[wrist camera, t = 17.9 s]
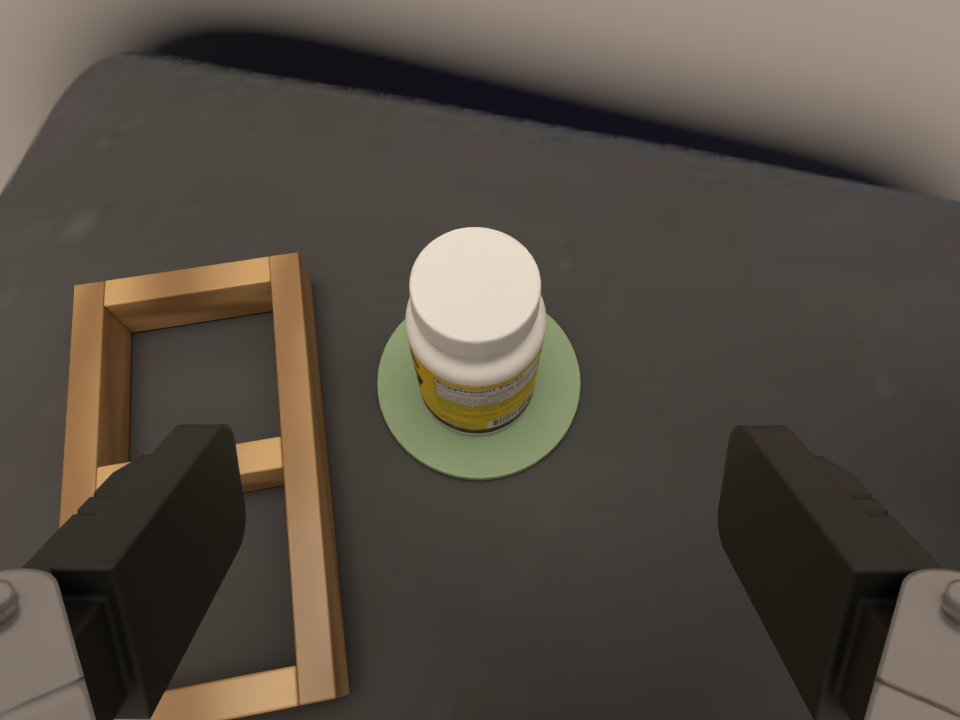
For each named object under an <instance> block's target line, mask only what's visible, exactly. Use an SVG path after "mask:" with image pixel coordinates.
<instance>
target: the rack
mask: <svg viewBox="0 0 960 720" xmlns="http://www.w3.org/2000/svg"><path fill="white" fill-rule="evenodd" d="M270 311H273V320H274V335H275V350H276V365H277V380H278V395H279V411H280V426H281V437H275V438H269V439H263V440H257V441H251V442H245V443H239V444H236V450H237V457H238V463H239V470H240V477H241V483H242V490H243V492H249V491H255V490H260V489H266V488H272V487H278V486H285V501H286V516H287V531H288V546H289V562H290V577H291V592H292V607H293V622H294V637H295V652H296V666H289V667H284V668H279V669H274V670H269V671H263V672H258V673H253V674H248V675H243V676H237V677H232V678H227V679H222V680H216V681H211V682H206V683H201V684H196V685H190V686H185V687H180V688H175V689H170V690H165V692H164V694H163V696H162V698H161V700H160V702H159V704H158V706H157V708H156V710H155V711H154V713H153V715H152V717H151V719H114V720H231V719H236V718H241V717H246V716H251V715H256V714H261V713H266V712H271V711H276V710H281V709H287V708H292V707H297V706H300V705H301V706H302V705H307V704H312V703H317V702H322V701H327V700H333V699H337V698H340V697H343V696H346V695H349V693H350V691H349V681H348V670H347V659H346V648H345V638H344V627H343V616H342V605H341V595H340V584H339V573H338V562H337V552H336V541H335V530H334V519H333V509H332V498H331V487H330V476H329V466H328V455H327V444H326V433H325V423H324V412H323V401H322V390H321V380H320V369H319V358H318V347H317V337H316V326H315V315H314V304H313V294H312V283H311V280H310V278H309V276H308V274H307V271H306V269H305V267H304V265H303V262H302V260H301V258H300V256H299V254H298V253H297V252H296V253H290V254H283V255H276V256H270V258H269V257H263V258H257V259H250V260H243V261H236V262H230V263H223V264H216V265H209V266H203V267H196V268H189V269H183V270H176V271H169V272H162V273H156V274H149V275H142V276H135V277H129V278H122V279H115V280H109V281H105V282H104V281H102V282H95V283H88V284H81V285H76V286H75V288H74V303H73V319H72V335H71V351H70V366H69V382H68V398H67V414H66V429H65V445H64V461H63V477H62V492H61V508H60V524H59V529H60V528H61V526H62V525H63V524H64V523H65V522H66V521H67V520H68V519H69V518H70V517H71V516H72V515H73V514H77V510H78V509H79V508H80V507H81V505H82V504H83V503H84V502H85V501H86V500H87V499H88V498H89V497H93V496H94V492H95V491H96V490H97V489H98V488H99V487H100V486H101V484H102V483H103V482H104V481H105V480H106V479H107V478H108V477H109V476H110V475H111V474H112V473H113V472H115V471H116V470H118V469H120V468H121V467H123V466H125V465H127V464H128V463H130V462H128V460H129V420H130V380H131V340H132V332H140V331H147V330H153V329H160V328H166V327H172V326H179V325H185V324H192V323H198V322H205V321H211V320H218V319H224V318H231V317H237V316H244V315H250V314H257V313H263V312H270Z"/></svg>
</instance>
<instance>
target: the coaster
mask: <svg viewBox="0 0 960 720" xmlns="http://www.w3.org/2000/svg"><path fill="white" fill-rule="evenodd" d="M580 387H581V386H580V371H579V366H578V361H577V358H576V355H575V352H574V350H573V348H572V345H571V343H570V341H569V339H568V338H567V336H566V335H565V333H564V332H563V330H562V329H561V328H560V327H559V325H558V324H557V323H556V322H555V321H554V320H553V319H552V318H551V317H550V316H549V315H548V314H547V313H546V330H545V338H544V343H543V348H542V352H541V356H540V361H539V366H538V371H537V376H536V381H535V387H534V392H533V395H532V398H531V401H530V403H529V405H528V407H527V408H526V410H525V411H524V413H523V414H522V415H521V416H520V417H519V418H518V419H517V420H516V421H515V422H514V423H513V424H511V425H510V426H508V427H507V428H505V429H503V430H500V431H498V432H495V433H491V434H486V435H467V434H462V433H459V432H456V431H453V430H451V429H449V428H447V427H446V426H444V425H443V424H441V423H440V422H439V421H438V420H436V419H435V418H434V417H433V416H432V414H431V413H430V412H429V410H428V409H427V407H426V405H425V404H424V401H423V399H422V396H421V392H420V388H419V384H418V380H417V376H416V372H415V367H414V363H413V359H412V355H411V351H410V346H409V342H408V338H407V333H406V319H405V320H404V321H403V322H402V323H401V324H400V325H399V326H398V327H397V329H396V330H395V331H394V333H393V334H392V336H391V337H390V339H389V341H388V343H387V345H386V346H385V349H384V352H383V354H382V357H381V360H380V365H379V369H378V379H377V389H378V398H379V403H380V408H381V411H382V414H383V416H384V419H385V422H386V424H387V426H388V428H389V429H390V431H391V433H392V435H393V436H394V437H395V439H396V440H397V442H398V443H399V444H400V445H401V446H402V447H403V449H404V450H405V451H406V452H407V453H408V454H410V455H411V456H412V457H413V458H414V459H416V460H417V461H418V462H420V463H421V464H423V465H425V466H426V467H428V468H430V469H432V470H434V471H437V472H439V473H441V474H444V475H447V476H451V477H454V478H459V479H466V480H491V479H499V478H503V477H507V476H511V475H514V474H516V473H519V472H521V471H524V470H526V469H528V468H529V467H531V466H533V465H535V464H537V463H538V462H539V461H541V460H542V459H543V458H545V457H546V456H547V455H548V454H549V453H550V452H551V451H552V450H553V449H554V448H555V447H556V446H557V445H558V444H559V442H560V441H561V440H562V439H563V437H564V436H565V434H566V432H567V431H568V429H569V427H570V425H571V423H572V421H573V418H574V416H575V413H576V410H577V406H578V402H579V397H580Z"/></svg>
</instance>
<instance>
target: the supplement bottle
mask: <svg viewBox="0 0 960 720" xmlns="http://www.w3.org/2000/svg"><path fill="white" fill-rule="evenodd" d="M409 286H410V298H409V301H408V305H407V310H406V333H407V338H408V342H409V346H410V351H411V355H412V359H413V363H414V367H415V372H416V376H417V380H418V384H419V388H420V392H421V396H422V399H423V401H424V404H425V405H426V407H427V409H428V410H429V412H430V413H431V414H432V416H433V417H434V418H435V419H436V420H438V421H439V422H440V423H441V424H443V425H444V426H446V427H447V428H449V429H451V430H453V431H456V432H459V433H462V434H467V435H486V434H491V433H495V432H498V431H500V430H503V429H505V428H507V427H508V426H510V425H511V424H513V423H514V422H515V421H516V420H517V419H518V418H519V417H520V416H521V415H522V414H523V413H524V411H525V410H526V408H527V407H528V405H529V403H530V401H531V398H532V395H533V392H534V387H535V381H536V376H537V371H538V366H539V361H540V356H541V352H542V348H543V343H544V338H545V330H546V311H545V305H544V301H543V299H542V296H541V278H540V274H539V270H538V267H537V265H536V262H535V261H534V259H533V257H532V256H531V254H530V253H529V252H528V251H527V249H526V248H525V247H524V246H523V245H522V244H520V243H519V242H518V241H517V240H515V239H514V238H512V237H511V236H509V235H507V234H505V233H502V232H499V231H496V230H493V229H488V228H481V227H470V228H462V229H457V230H453V231H451V232H448V233H446V234H443V235H442V236H440V237H438V238H436V239H435V240H433V241H432V242H431V243H430V244H429V245H427V246H426V247H425V248H424V250H423V251H422V252H421V253H420V255H419V256H418V258H417V259H416V261H415V263H414V266H413V268H412V271H411V275H410V284H409Z"/></svg>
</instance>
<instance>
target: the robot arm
mask: <svg viewBox="0 0 960 720" xmlns="http://www.w3.org/2000/svg"><path fill="white" fill-rule="evenodd" d="M245 520H246V513H245V503H244V497H243V490H242V483H241V477H240V470H239V463H238V457H237V450H236V443H235V438H234V434H233V431H232V429H231V428H230V427H229V426H228V425H178V426H176V427H175V428H174V429H173V430H172V431H171V433H170V434H169V435H168V436H167V437H166V438H165V439H164V440H163V442H162V443H161V444H160V445H159V446H158V447H157V448H156V449H155V450H154V452H153V453H152V454H151V455H142V456H140V457H139V458H137V459H135V460H133V461H132V462H130V463H128V464H127V465H125V466H123V467H121V468H120V469H118V470H116V471H115V472H113V473H112V474H111V475H110V476H109V477H108V478H107V479H106V480H105V481H104V482H103V483H102V484H101V486H100V487H99V488H98V489H97V490H96V491H95V492H94V496H93V497H89V498H88V499H87V500H86V501H85V502H84V503H83V504H82V505H81V507H80V508H79V509H78V510H77V514H73V515H72V516H71V517H70V518H69V519H68V520H67V521H66V522H65V523H64V524H63V525H62V526H61V528H60V529H59V530H58V531H57V532H56V533H55V534H54V535H53V536H52V537H51V538H50V539H49V540H48V541H47V542H46V543H45V544H44V545H43V546H42V547H41V549H40V550H39V551H38V552H37V553H36V554H35V555H34V556H33V557H32V558H31V559H30V560H29V561H28V562H27V563H26V564H25V565H24V566H23V567H22V568H21V569H11V570H5V571H0V720H114V719H151V717H152V715H153V713H154V711H155V710H156V708H157V706H158V704H159V702H160V700H161V698H162V696H163V694H164V692H165V690H166V688H167V687H168V685H169V683H170V681H171V679H172V677H173V675H174V673H175V671H176V669H177V667H178V665H179V664H180V662H181V660H182V658H183V656H184V654H185V652H186V650H187V648H188V646H189V644H190V642H191V640H192V639H193V637H194V635H195V633H196V631H197V629H198V627H199V625H200V623H201V621H202V619H203V617H204V616H205V614H206V612H207V610H208V608H209V606H210V604H211V602H212V600H213V598H214V596H215V594H216V593H217V591H218V589H219V587H220V585H221V583H222V581H223V579H224V577H225V575H226V573H227V571H228V570H229V568H230V566H231V564H232V562H233V560H234V558H235V556H236V554H237V552H238V550H239V548H240V546H241V543H242V540H243V536H244V530H245ZM718 527H719V534H720V539H721V543H722V546H723V548H724V550H725V552H726V554H727V556H728V558H729V560H730V562H731V564H732V566H733V567H734V569H735V571H736V573H737V575H738V577H739V579H740V581H741V583H742V585H743V586H744V588H745V590H746V592H747V594H748V596H749V598H750V600H751V602H752V603H753V605H754V607H755V609H756V611H757V613H758V615H759V617H760V619H761V621H762V622H763V624H764V626H765V628H766V630H767V632H768V634H769V636H770V638H771V639H772V641H773V643H774V645H775V647H776V649H777V651H778V653H779V655H780V657H781V658H782V660H783V662H784V664H785V666H786V668H787V670H788V672H789V674H790V675H791V677H792V679H793V681H794V683H795V685H796V687H797V689H798V691H799V693H800V694H801V696H802V698H803V700H804V702H805V704H806V706H807V708H808V710H809V711H810V713H811V715H812V717H813V719H814V720H960V571H955V570H949V569H943V568H942V567H941V566H940V565H939V564H938V563H937V562H936V561H935V560H934V559H933V558H932V557H931V556H930V555H929V554H928V553H927V552H926V551H925V550H924V549H923V547H922V546H921V545H920V544H919V543H918V542H917V541H916V540H915V539H914V538H913V537H912V536H911V535H910V534H909V533H908V532H907V531H906V530H905V529H904V528H903V527H902V526H901V525H900V524H899V523H898V521H897V520H896V519H895V518H894V517H893V516H888V511H887V510H886V509H885V508H884V507H883V506H882V505H881V504H880V503H879V502H878V501H877V500H876V499H875V498H871V493H870V492H869V491H868V490H867V489H866V488H865V487H864V486H863V485H862V484H861V483H860V482H859V481H858V480H857V479H856V478H855V477H854V476H853V475H852V474H851V473H850V472H848V471H846V470H844V469H843V468H841V467H839V466H837V465H836V464H834V463H832V462H831V461H829V460H827V459H825V458H824V457H822V456H813V454H812V453H811V452H810V451H809V450H808V449H807V448H806V447H805V446H804V444H803V443H802V442H801V441H800V440H799V439H798V438H797V437H796V436H795V435H794V433H793V432H792V431H791V430H790V429H789V428H788V427H786V426H736V427H735V428H734V429H733V430H732V432H731V435H730V438H729V443H728V449H727V456H726V463H725V469H724V476H723V482H722V489H721V495H720V502H719V509H718Z"/></svg>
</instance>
